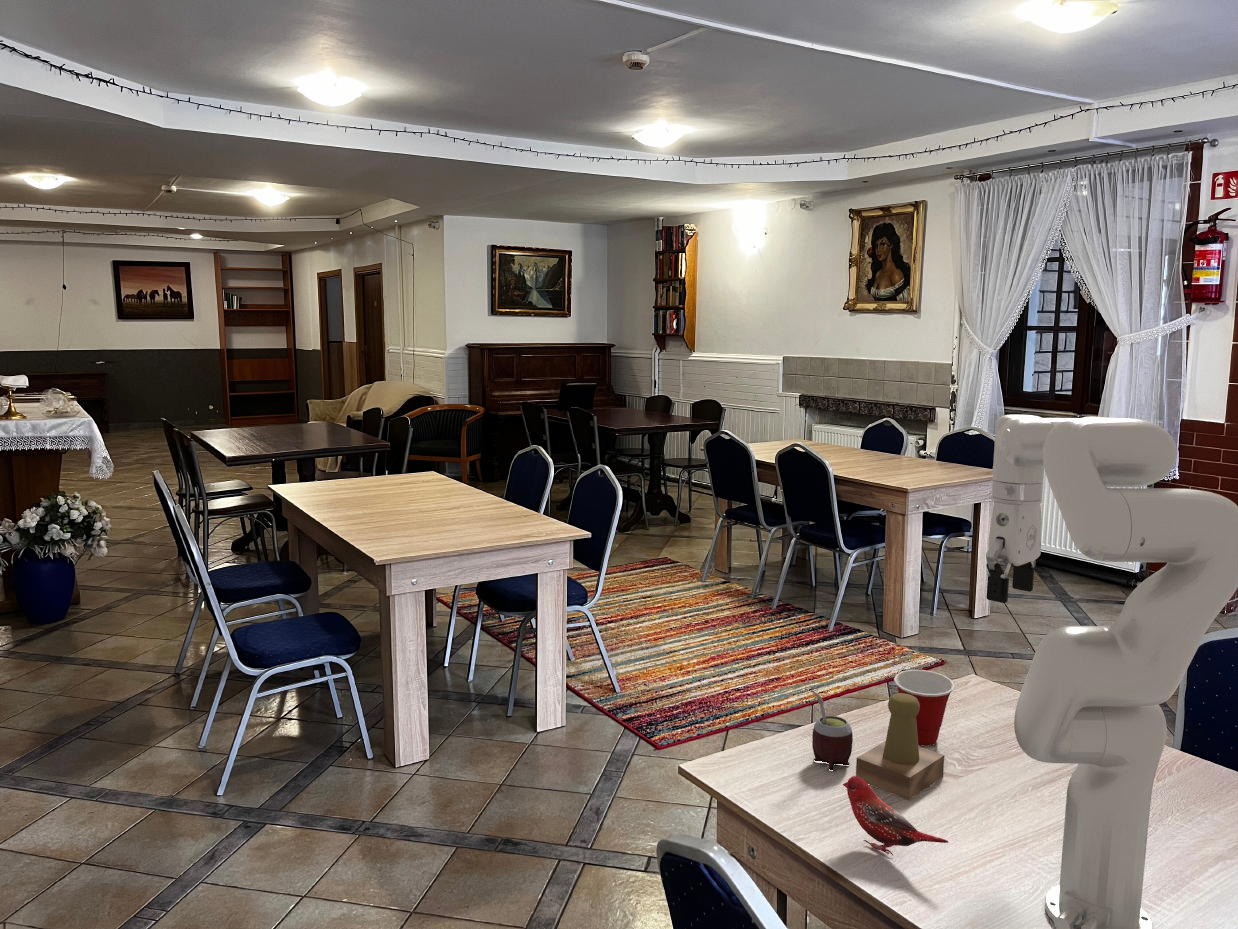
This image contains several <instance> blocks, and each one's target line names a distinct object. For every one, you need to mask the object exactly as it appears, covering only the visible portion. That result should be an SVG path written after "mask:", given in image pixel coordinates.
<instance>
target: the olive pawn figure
mask: <svg viewBox="0 0 1238 929" xmlns="http://www.w3.org/2000/svg"><path fill="white" fill-rule="evenodd" d="M887 708H888V711H889V713H890V715H889V716H890V717H889V723H888V728H887V733H886V737H885V741H886V742H885V741H884V742H885V748H884V753H883V756H884V758H886V759H887V760H889V761H891V762H893V763H896V764H902V765H911V764H915V763H917V762H918V761H919V747H920V746H919V745H918V736H917V725H916V716H917V715H918V713H919V709H920V705H919V702H918V700H917V698H915V697H914V696H912V695H909V694H904V693H893V694H892V695H891V696H890V697H889V699H888V702H887ZM918 746H919V747H918Z"/></svg>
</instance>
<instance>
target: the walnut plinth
mask: <svg viewBox="0 0 1238 929" xmlns="http://www.w3.org/2000/svg"><path fill="white" fill-rule="evenodd" d="M885 742H886V740H885V741H883V742H881V743H880V744H877V745H876V746H874V747H873V748H871V749H869V750H867V751H866V752H864V753H862V754H861V755H858V756H857V757H856V762H855V763H856V765H855V776H858V777H860V778H861V779H863V780H864V781H865V782H866V783H867V784H870V785H869V786H871V785H872V787H873V786H874V788H876V787H877V788H876V789H879V790H881V791H884V792H886V793H889V794H892V795H893V796H897V797H899V798H902V799H904V800H907V801H910V800H912V799H913V798H914V797H916V796H917V795H920V794H921V792H923V791H925V790H926V789H928V788H929V787H931V786H933V784H935V783H937V782H938V781H939V780H941V779H942V778H944V768H945V766H944V765H945V754H942V753H939V752H937V751H934V750H931V749H928V748H925V747H921V746H920V745H918V747H919V761H918V762H917V763H915V764H911V765H902V764H896V763H893V762H891V761H889V760H887V759H886V758H884V756H883V753H884V748H885Z"/></svg>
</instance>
